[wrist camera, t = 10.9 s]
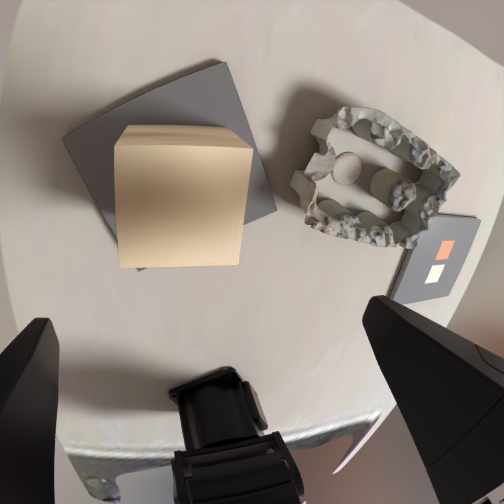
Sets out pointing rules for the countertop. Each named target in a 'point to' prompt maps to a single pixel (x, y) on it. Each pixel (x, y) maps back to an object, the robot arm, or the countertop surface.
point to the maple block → (180, 195)
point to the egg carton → (374, 181)
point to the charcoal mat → (168, 113)
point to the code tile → (435, 259)
